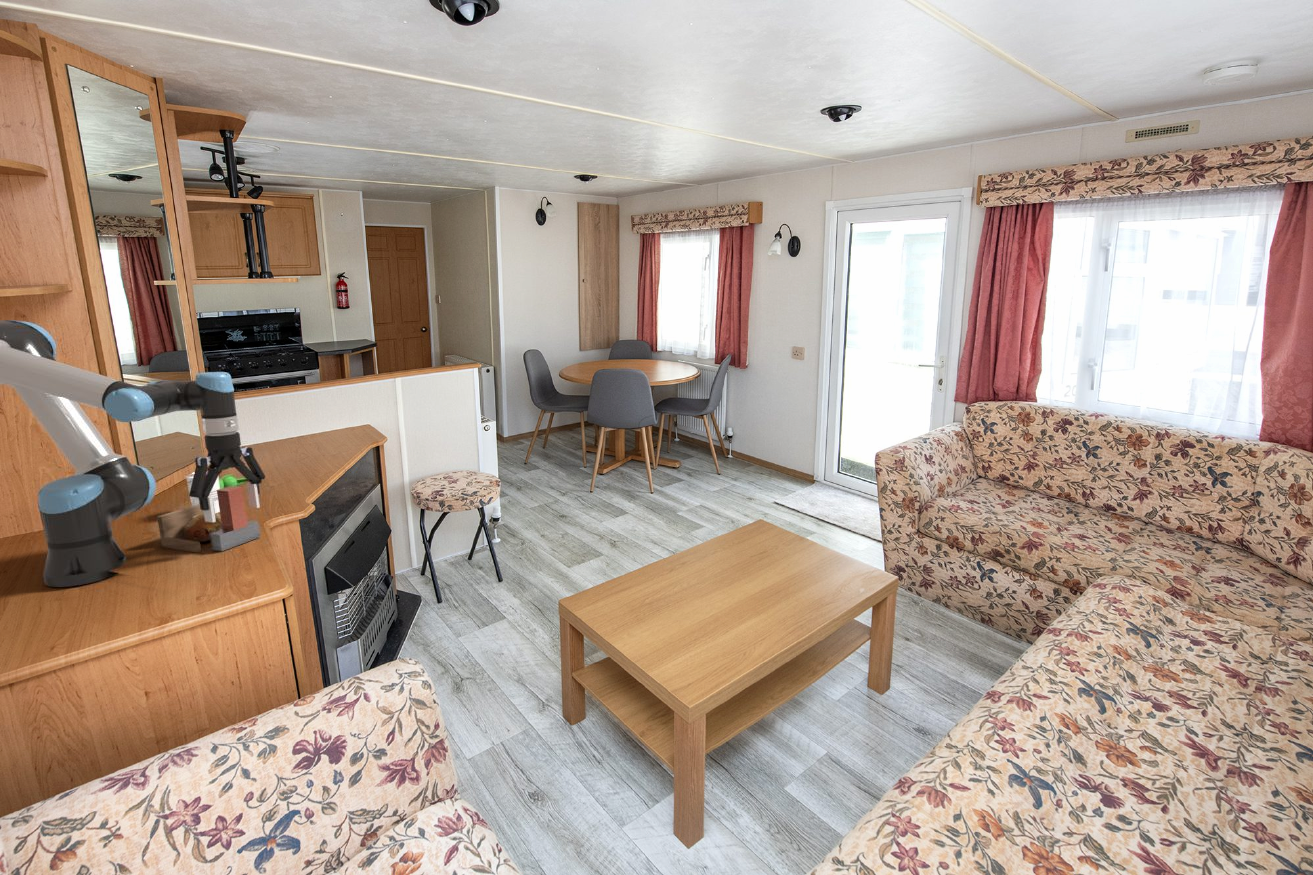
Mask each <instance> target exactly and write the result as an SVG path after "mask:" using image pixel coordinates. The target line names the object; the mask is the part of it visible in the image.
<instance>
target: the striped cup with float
mask: <svg viewBox="0 0 1313 875" xmlns="http://www.w3.org/2000/svg"><path fill="white" fill-rule="evenodd" d="M194 473H195V472H192V473H190V474H186V475H185V476H184V478H186V482H187V483H186V484H187V487H188V493H189V494H190V490H191V485H192V481H193V477H194ZM207 473H208V470H207ZM207 473H206V475H207ZM219 476H220V474H219V475H218V478H217V480H216V482H215V484H214V486H213V488H212V490H211V492H210V494H209V496H208V497H212V500H213V503H214V510H215V513H216V514H219V513H220V509H219V502H218V495H217V490H219V489H220V486H219V479H220V477H219ZM189 498H190V502H191V506H195V505H198V504H200V503H199V498H197V497H190V496H189Z"/></svg>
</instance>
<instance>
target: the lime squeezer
mask: <svg viewBox="0 0 1313 875" xmlns="http://www.w3.org/2000/svg"><path fill="white" fill-rule="evenodd" d="M247 481H248V480H247V479H246V478H245V477H242V478H236V477H235V475H234V474H226V475H224V476H222V477H221V478H219V486H220V489H223V488H226V487H230V486H235V487H238V486H239V485H241V484H242V485H243V484H244V483H246V482H247ZM248 482H249V481H248Z"/></svg>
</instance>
